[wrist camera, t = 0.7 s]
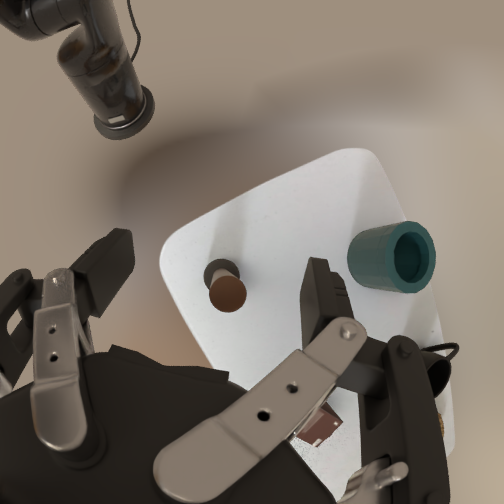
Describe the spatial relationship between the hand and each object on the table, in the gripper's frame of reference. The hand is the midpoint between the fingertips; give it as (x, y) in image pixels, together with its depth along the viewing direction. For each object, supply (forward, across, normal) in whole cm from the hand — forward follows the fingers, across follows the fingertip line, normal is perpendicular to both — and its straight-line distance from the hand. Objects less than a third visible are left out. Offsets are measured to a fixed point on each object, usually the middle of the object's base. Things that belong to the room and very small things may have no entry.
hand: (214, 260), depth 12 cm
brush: (+22, +3, +17) cm, 28 cm away
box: (+13, -14, +36) cm, 40 cm away
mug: (+20, -35, +30) cm, 50 cm away
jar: (+28, -21, +14) cm, 38 cm away
